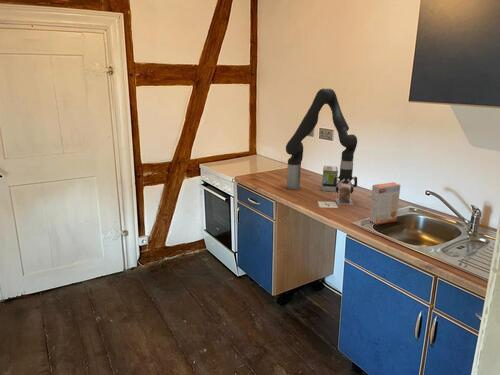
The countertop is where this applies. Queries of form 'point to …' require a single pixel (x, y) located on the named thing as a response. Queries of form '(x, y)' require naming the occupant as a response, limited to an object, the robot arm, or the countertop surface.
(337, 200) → the slate pad
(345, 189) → the walnut block
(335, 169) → the tea box
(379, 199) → the cracker box
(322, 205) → the card
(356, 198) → the countertop surface
